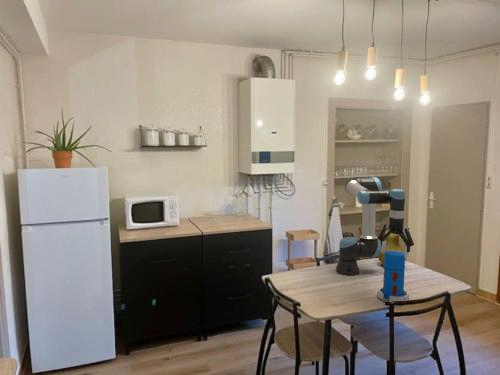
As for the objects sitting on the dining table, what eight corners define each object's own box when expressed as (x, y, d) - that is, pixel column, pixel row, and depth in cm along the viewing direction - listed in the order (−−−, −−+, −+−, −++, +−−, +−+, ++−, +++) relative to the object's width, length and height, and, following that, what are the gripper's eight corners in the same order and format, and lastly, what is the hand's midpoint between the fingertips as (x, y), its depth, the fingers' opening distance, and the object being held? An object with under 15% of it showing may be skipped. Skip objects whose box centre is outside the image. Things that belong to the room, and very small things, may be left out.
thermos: (384, 299, 213) (386, 255, 211) (381, 292, 224) (383, 250, 221) (405, 301, 211) (407, 256, 209) (401, 293, 222) (403, 251, 219)
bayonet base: (371, 297, 219) (371, 291, 218) (387, 290, 230) (387, 284, 229) (399, 307, 206) (399, 300, 205) (415, 299, 217) (415, 292, 216)
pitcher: (379, 268, 270) (381, 232, 268) (375, 261, 288) (377, 228, 286) (405, 270, 267) (407, 234, 265) (399, 263, 285) (401, 230, 284)
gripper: (372, 214, 220) (371, 251, 222) (415, 222, 201) (413, 261, 203) (379, 213, 224) (378, 248, 227) (422, 220, 206) (419, 258, 208)
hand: (394, 254), depth 215 cm, fingers open, 13 cm apart
